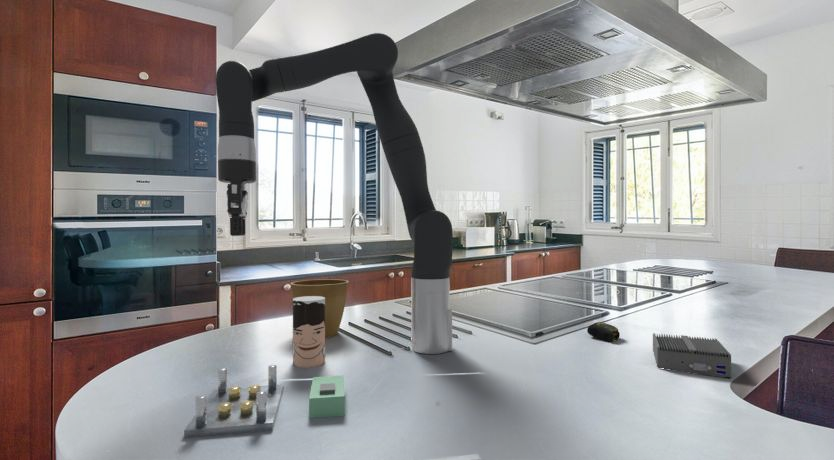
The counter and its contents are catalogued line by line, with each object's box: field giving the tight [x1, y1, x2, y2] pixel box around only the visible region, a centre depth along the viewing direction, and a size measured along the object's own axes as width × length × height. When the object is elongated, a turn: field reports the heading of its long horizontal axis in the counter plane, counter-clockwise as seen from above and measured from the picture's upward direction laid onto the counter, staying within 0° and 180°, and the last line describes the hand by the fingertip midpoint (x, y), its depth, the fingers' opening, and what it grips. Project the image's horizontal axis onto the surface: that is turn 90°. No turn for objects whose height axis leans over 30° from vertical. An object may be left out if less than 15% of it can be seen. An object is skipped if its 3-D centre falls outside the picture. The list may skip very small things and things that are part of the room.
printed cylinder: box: [292, 296, 326, 368], centre depth 92 cm, size 7×7×15 cm
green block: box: [308, 374, 346, 419], centre depth 72 cm, size 10×6×4 cm, turn 10°
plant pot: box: [290, 278, 350, 339], centre depth 114 cm, size 15×15×16 cm
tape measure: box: [586, 322, 620, 343], centre depth 114 cm, size 7×7×4 cm
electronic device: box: [652, 332, 732, 379], centre depth 95 cm, size 13×15×5 cm
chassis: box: [183, 364, 285, 439], centre depth 70 cm, size 16×12×5 cm
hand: (238, 235), depth 91 cm, fingers open, 8 cm apart
